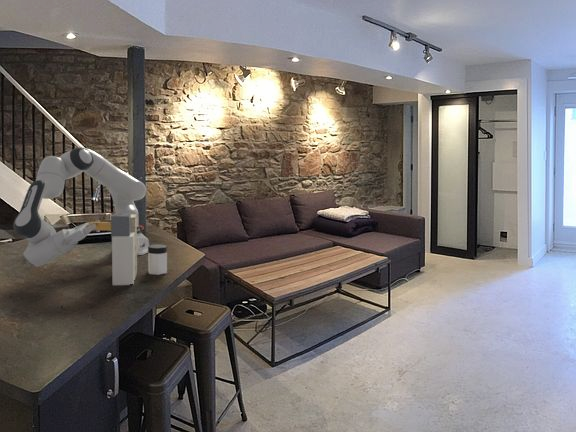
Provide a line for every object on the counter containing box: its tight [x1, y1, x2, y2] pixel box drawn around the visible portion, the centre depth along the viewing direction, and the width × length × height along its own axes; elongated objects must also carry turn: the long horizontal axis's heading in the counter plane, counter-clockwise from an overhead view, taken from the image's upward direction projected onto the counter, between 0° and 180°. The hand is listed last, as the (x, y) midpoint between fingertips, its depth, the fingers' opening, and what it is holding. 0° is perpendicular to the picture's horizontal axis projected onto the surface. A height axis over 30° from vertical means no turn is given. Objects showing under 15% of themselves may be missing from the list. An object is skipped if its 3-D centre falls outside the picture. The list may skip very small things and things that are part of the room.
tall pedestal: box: [131, 214, 138, 278], centre depth 207 cm, size 8×9×26 cm
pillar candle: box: [50, 223, 71, 254], centre depth 245 cm, size 10×10×15 cm
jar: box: [147, 244, 168, 276], centre depth 214 cm, size 9×8×12 cm
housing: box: [88, 213, 131, 237], centre depth 194 cm, size 16×7×8 cm, turn 103°
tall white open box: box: [111, 232, 136, 286], centre depth 197 cm, size 8×9×20 cm
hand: (97, 223), depth 193 cm, fingers open, 8 cm apart
